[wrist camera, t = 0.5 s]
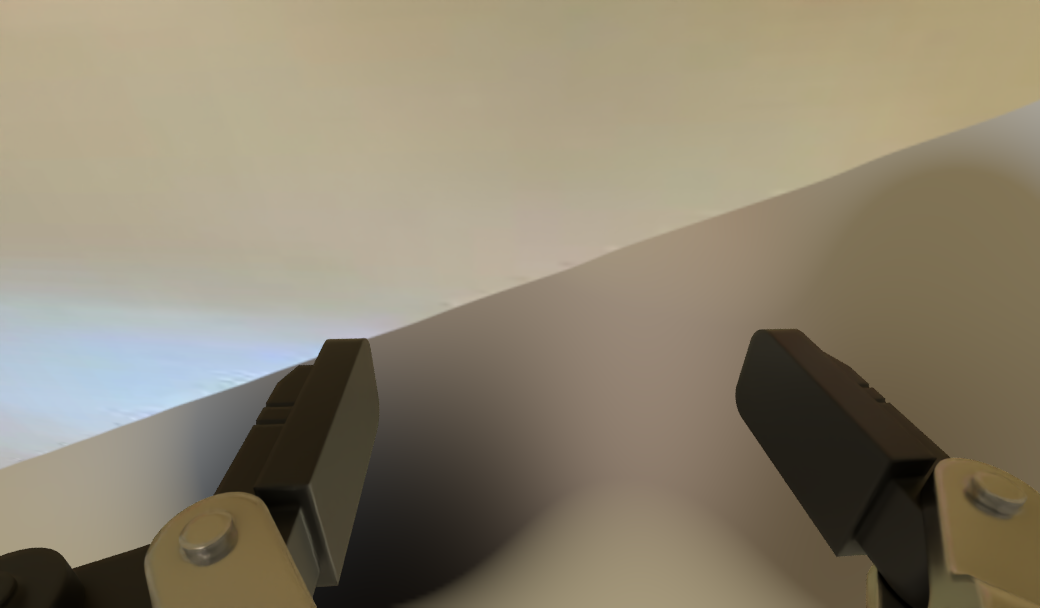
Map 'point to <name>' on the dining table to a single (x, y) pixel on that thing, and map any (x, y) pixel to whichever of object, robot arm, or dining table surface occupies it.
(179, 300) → the dining table surface
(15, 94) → the dining table surface
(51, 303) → the dining table surface
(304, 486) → the robot arm
